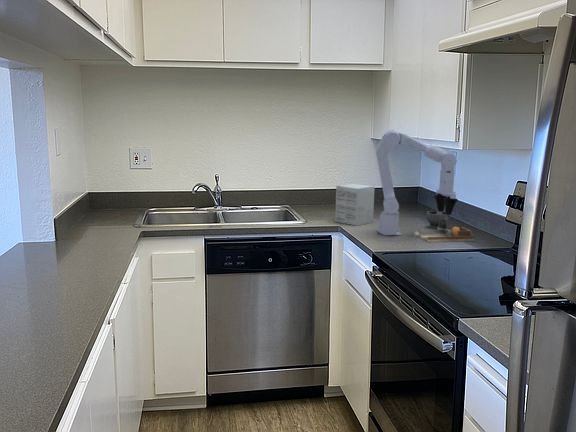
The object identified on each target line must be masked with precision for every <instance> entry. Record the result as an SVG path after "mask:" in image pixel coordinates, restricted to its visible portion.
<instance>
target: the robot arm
mask: <svg viewBox="0 0 576 432" xmlns="http://www.w3.org/2000/svg"><path fill="white" fill-rule="evenodd" d="M398 144H400V145H408V146H410V147H413V148H414V149H416V150H419V151H421V152H423V155H424V157H426V158H427V159H430V160H432V161H434V162H437V163H440V164H441V165H440V173H439V184H438V185H439V186H438V187H439V189H436V192H435V193H436V194H433V195H434V196H433V197H434V199H435V202H436V206H437V211H438V212H443V211H444V212H446V215H452V212H453V210H454V208H455V205H456V204H457V202H458V198H457V197H456V196H457V194H456V191H454V185H455V184H454V183H455V173H456V172H455V168H456V167H455V165H456V164H457V162H458V161H457V157H456V156H455V154H454V153H451V152H450V151H448V150H447V149H443V148H440V147H439V146H438V145H437V146H432V143H430V144H429V143H428V144H425V143H423V142H421V141H420V140H417V139H416V138H413V137H412V136H410V135H407V134H405V133H401V132H399V131H398V132H397V131H395V130H391V129H390V130H388V131H386V132H385V133H384V134H383V135H382V136H381V139H380V141H379V143H378V146H377V148H376V150H375V154H376V160H377V165H378V171H379V177H380V183H381V187H382V193H383V202H382V206H383V210H381V213H380V215H379V220H378V221H379V224H378V229H376V232H378V233H380V234H381V235H383V236H402V233H401V232H399V223H400V222H399V220H400V219H399V218H400V212H399V209H400V203H399V202H398V200H397V198H396V194H395V191H394V184H393V179H392V172H391V167H390V163H389V157H388V154H389V153H390V152H391V150H392V149H394V147H396V146H397V145H398ZM444 206H445V207H444Z"/></svg>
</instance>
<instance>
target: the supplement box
mask: <svg viewBox="0 0 576 432" xmlns="http://www.w3.org/2000/svg"><path fill="white" fill-rule="evenodd" d="M335 188H336V190H335V191H336V192H335V214H334V215H335V217H334V218H335V219H334V222H336V223H339V222H340V223H341V224H345V223H346V224H345V225H350V224H351V225H350V226H355V225H357V226H362V225H366V224H372V223H374V209H375V208H374V206H375V186H374V185H366V184H358V183H348V184H341V185H336V186H335Z"/></svg>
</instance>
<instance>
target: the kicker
mask: <svg viewBox="0 0 576 432" xmlns="http://www.w3.org/2000/svg"><path fill="white" fill-rule="evenodd" d="M436 230H444V231H446V236H451V234H452V232H451V229H448V220H447V219H443V218H441V219H439V226H438V227H437V229H436Z"/></svg>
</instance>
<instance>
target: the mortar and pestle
mask: <svg viewBox="0 0 576 432" xmlns="http://www.w3.org/2000/svg"><path fill="white" fill-rule="evenodd" d="M444 208H445V206H444ZM441 218H443V219H447V221H448V220H449V215H446V212H445V210H444V211H443V212H438V210H429V211H426V219H427V223H429V228H430V229H432V230H438V229H437V227H438V226H439V219H441Z"/></svg>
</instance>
